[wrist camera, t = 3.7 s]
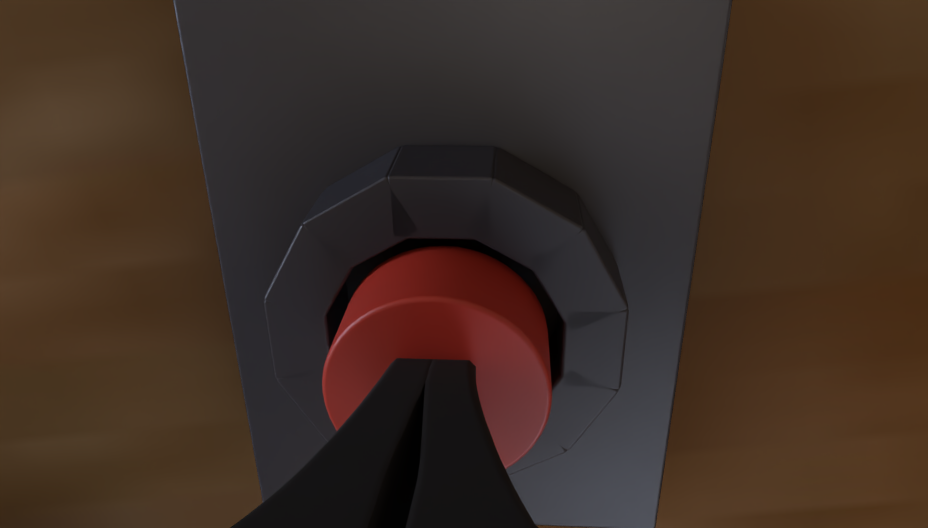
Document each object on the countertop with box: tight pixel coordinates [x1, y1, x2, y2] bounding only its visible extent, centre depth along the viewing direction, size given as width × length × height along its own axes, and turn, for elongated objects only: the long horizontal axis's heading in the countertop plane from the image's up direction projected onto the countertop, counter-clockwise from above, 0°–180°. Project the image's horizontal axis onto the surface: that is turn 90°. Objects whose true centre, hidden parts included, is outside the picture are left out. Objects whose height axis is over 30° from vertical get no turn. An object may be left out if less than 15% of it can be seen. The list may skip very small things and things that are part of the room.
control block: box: [173, 0, 732, 528], centre depth 16 cm, size 13×10×4 cm
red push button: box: [322, 246, 552, 469], centre depth 13 cm, size 4×4×2 cm
